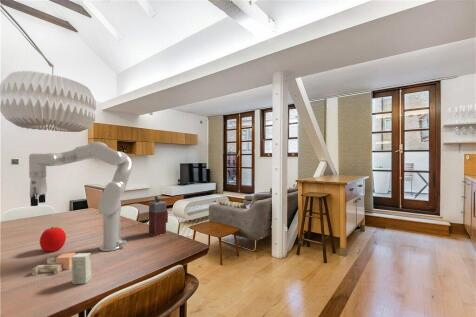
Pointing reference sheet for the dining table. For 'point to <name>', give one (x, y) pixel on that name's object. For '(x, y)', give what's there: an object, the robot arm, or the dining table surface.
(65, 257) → the block
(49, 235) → the tomato
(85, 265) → the skincare box
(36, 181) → the robot arm
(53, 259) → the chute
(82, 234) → the dining table surface
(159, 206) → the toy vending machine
